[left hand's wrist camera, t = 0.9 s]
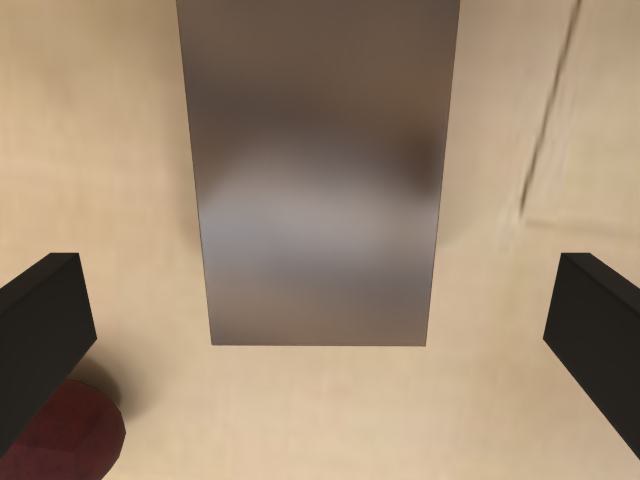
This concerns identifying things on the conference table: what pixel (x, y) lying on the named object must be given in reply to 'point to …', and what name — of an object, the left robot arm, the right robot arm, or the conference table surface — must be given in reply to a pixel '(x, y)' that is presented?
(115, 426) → the dark red ball
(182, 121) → the conference table surface
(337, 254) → the thick board
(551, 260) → the conference table surface
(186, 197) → the conference table surface
